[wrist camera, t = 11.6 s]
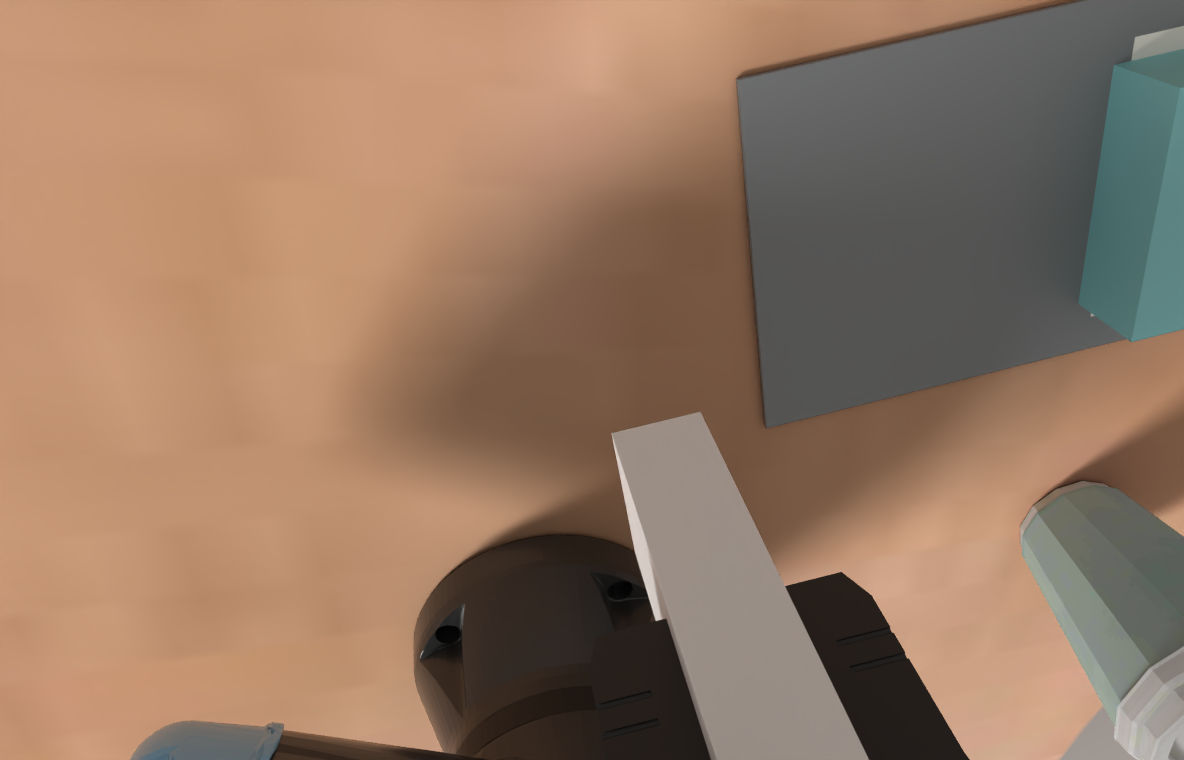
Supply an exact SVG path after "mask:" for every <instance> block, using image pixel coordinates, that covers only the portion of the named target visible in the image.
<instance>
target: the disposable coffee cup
mask: <svg viewBox="0 0 1184 760" xmlns="http://www.w3.org/2000/svg"><path fill="white" fill-rule="evenodd" d="M1020 544H1021V546H1022V555H1023V557H1024V559H1025V561H1026V563H1027V565H1028V567H1029V569H1030V570H1031V572H1032V574H1033V576H1034V578H1035V580H1036V582H1037V583H1038V585H1039V587H1040V589H1041V591H1042V593H1043V595H1044V596H1045V598H1046V600H1047V602H1048V604H1049V606H1050V608H1051V609H1052V611H1053V613H1054V615H1055V617H1056V619H1057V621H1058V622H1059V624H1060V626H1061V628H1062V630H1063V632H1064V634H1065V635H1066V637H1067V639H1068V641H1069V643H1070V645H1071V647H1072V648H1073V650H1074V652H1075V654H1076V656H1077V658H1078V660H1079V661H1080V663H1081V665H1082V667H1083V669H1084V671H1085V673H1086V674H1087V676H1088V678H1089V680H1090V682H1091V684H1092V686H1093V687H1094V689H1095V691H1096V693H1097V695H1098V697H1099V699H1100V701H1101V702H1102V704H1103V706H1104V708H1105V710H1106V711H1107V713H1108V715H1109V717H1110V719H1111V721H1112V723H1113V724H1114V727H1115V734H1114V739H1115V740H1116V741H1118V742H1119V743H1120V744H1121V745H1122V746H1123V747H1124V748H1125V750H1126V751H1127V752H1128V753H1129V754H1130V755H1132V756H1133V757H1134V758H1135V759H1137V760H1184V537H1183V536H1182V535H1181V534H1179V533H1178V532H1176V531H1175V530H1174V529H1172V528H1171V527H1170V526H1168V525H1167V524H1165V523H1164V522H1163V521H1161V520H1160V519H1159V518H1157V517H1156V516H1154V515H1153V514H1152V513H1150V512H1149V511H1148V510H1146V509H1145V508H1143V507H1142V506H1141V505H1139V504H1138V503H1137V502H1135V501H1134V500H1132V499H1131V498H1130V497H1128V496H1127V495H1126V494H1124V493H1123V492H1121V491H1120V490H1119V489H1117V488H1112V487H1109V486H1107V485H1106V484H1104V483H1096V482H1087V481H1080V482H1077V483H1074V484H1071V485H1068V486H1064V487H1061V488H1058V489H1056V490H1054V491H1053V492H1051V493H1050V494H1049V495H1047V496H1046V497H1044V498H1043V499H1042V500H1040V501H1039V502H1038V503H1036V504H1035V505H1033V507H1032V508H1031V510H1030V512H1029V513H1028V515H1027V516H1026V518H1025V519H1024V521H1023V522H1022V524H1021V525H1020Z"/></svg>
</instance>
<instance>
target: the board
mask: <svg viewBox="0 0 1184 760" xmlns="http://www.w3.org/2000/svg"><path fill="white" fill-rule="evenodd" d="M1180 49H1184V0H1077V1H1073V2H1068V3H1064V4H1059V5H1055V6H1051V7H1046V8H1042V9H1038V10H1033V11H1029V12H1024V13H1020V14H1016V15H1011V16H1007V17H1003V18H998V19H994V20H990V21H985V22H981V23H976V24H972V25H968V26H963V27H959V28H955V29H950V30H946V31H941V32H937V33H933V34H928V35H924V36H920V37H915V38H911V39H907V40H902V41H898V42H893V43H889V44H885V45H880V46H876V47H872V48H867V49H863V50H858V51H854V52H850V53H845V54H841V55H837V56H832V57H828V58H823V59H819V60H815V61H810V62H806V63H802V64H797V65H793V66H789V67H784V68H780V69H775V70H771V71H767V72H762V73H758V74H754V75H749V76H745V77H740V78H736V84H737V96H738V108H739V120H740V132H741V144H742V156H743V168H744V180H745V192H746V205H747V217H748V229H749V241H750V253H751V265H752V277H753V289H754V301H755V313H756V325H757V338H758V350H759V362H760V374H761V386H762V398H763V410H764V422H765V426H766V428H770V427H774V426H778V425H782V424H786V423H790V422H794V421H798V420H802V419H806V418H810V417H814V416H818V415H822V414H826V413H830V412H834V411H838V410H842V409H846V408H850V407H854V406H858V405H863V404H867V403H871V402H875V401H879V400H883V399H887V398H891V397H895V396H899V395H903V394H907V393H911V392H915V391H919V390H923V389H927V388H931V387H935V386H939V385H943V384H947V383H951V382H955V381H959V380H963V379H967V378H971V377H975V376H979V375H983V374H987V373H991V372H995V371H999V370H1003V369H1007V368H1011V367H1015V366H1019V365H1023V364H1027V363H1032V362H1036V361H1040V360H1044V359H1048V358H1052V357H1056V356H1060V355H1064V354H1068V353H1072V352H1076V351H1080V350H1084V349H1088V348H1092V347H1096V346H1100V345H1104V344H1108V343H1112V342H1116V341H1120V340H1124V339H1126V338H1125V337H1124V336H1122V335H1121V334H1119V333H1118V332H1117V331H1115V330H1114V329H1113V328H1111V327H1110V326H1108V325H1107V324H1106V323H1104V322H1103V321H1101V320H1100V319H1099V318H1097V317H1096V316H1095V315H1093V314H1092V313H1090V312H1089V311H1088V310H1086V309H1085V308H1084V307H1082V306H1081V305H1079V304H1078V302H1079V295H1080V289H1081V282H1082V275H1083V268H1084V262H1085V255H1086V248H1087V242H1088V235H1089V228H1090V221H1091V215H1092V208H1093V201H1094V195H1095V188H1096V181H1097V174H1098V168H1099V161H1100V154H1101V148H1102V141H1103V134H1104V127H1105V121H1106V114H1107V107H1108V101H1109V94H1110V87H1111V80H1112V74H1113V67H1114V65H1116V64H1120V63H1124V62H1128V61H1133V60H1137V59H1141V58H1146V57H1150V56H1154V55H1158V54H1163V53H1167V52H1171V51H1176V50H1180Z"/></svg>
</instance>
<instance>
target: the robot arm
mask: <svg viewBox="0 0 1184 760" xmlns="http://www.w3.org/2000/svg"><path fill="white" fill-rule="evenodd" d="M612 438H613V443H614V448H615V453H616V459H617V464H618V469H619V474H620V479H621V484H622V489H623V494H624V499H625V504H626V509H627V514H628V519H629V524H630V529H631V534H632V540H633V545H634V550H635V553H634V552H633V551H631V550H629V549H627V548H625V547H623V546H620V545H618V544H615V543H612V542H609V541H605V540H601V539H597V538H592V537H585V536H574V535H553V536H542V537H535V538H529V539H524V540H519V541H516V542H512V543H508V544H505V545H503V546H500V547H497V548H494V549H492V550H489V551H487V552H485V553H483V554H481V555H479V556H477V557H475V558H473V559H472V560H470V561H468V562H467V563H465V564H464V565H462V566H461V567H459V568H458V569H456V570H455V571H454V572H453V573H451V574H450V575H449V576H448V577H447V578H446V579H444V580H443V581H442V582H441V583H440V584H439V586H438V587H437V588H436V589H435V590H434V591H433V593H432V594H431V595H430V596H429V598H428V599H427V601H426V603H425V604H424V606H423V608H422V610H421V612H420V614H419V617H418V620H417V623H416V627H415V632H414V676H415V682H416V686H417V690H418V693H419V696H420V698H421V701H422V703H423V705H424V708H425V710H426V712H427V715H428V717H429V719H430V722H431V724H432V727H433V729H434V731H435V734H436V736H437V738H438V741H439V743H440V745H441V748H442V750H443V752H444V753H443V752H436V751H429V750H422V749H414V748H407V747H400V746H393V745H386V744H379V743H371V742H364V741H357V740H350V739H343V738H336V737H328V736H321V735H314V734H307V733H300V732H293V731H285V730H283V729H284V724H280V723H273V722H272V723H270V724H268V725H266V726H265V727H259V726H248V725H237V724H225V723H214V722H203V721H182V722H177V723H173V724H170V725H168V726H165V727H163V728H161V729H160V730H158V731H156V732H154V733H153V734H152V735H151V736H149V737H148V738H147V739H145V740H144V741H143V743H142V744H141V745H140V746H139V747H138V748H137V749H136V751H135V752H134V754H133V755H132V757H131V759H130V760H970V759H969V758H968V757H967V755H966V754H965V753H964V751H963V750H962V748H961V746H960V745H959V743H958V741H957V740H956V738H955V736H954V734H953V733H952V731H951V729H950V728H949V726H948V724H947V723H946V721H945V719H944V717H943V716H942V714H941V712H940V711H939V709H938V707H937V706H936V704H935V702H934V701H933V699H932V697H931V695H930V694H929V692H928V690H927V689H926V687H925V685H924V684H923V682H922V680H921V679H920V677H919V675H918V673H917V672H916V670H915V668H914V667H913V665H912V663H911V662H910V660H909V659H907V658H906V655H905V651H904V650H903V648H902V646H901V645H900V643H899V641H898V640H897V638H896V636H895V634H894V633H892V632H891V630H890V626H889V624H888V623H887V621H886V619H885V617H884V616H883V614H882V612H881V611H880V609H879V607H878V606H877V604H876V602H875V601H874V599H873V597H872V595H870V594H869V593H868V592H866V591H865V590H864V589H863V588H861V587H860V586H859V585H857V584H856V583H855V582H854V581H852V580H851V579H850V578H848V577H847V576H846V575H845V574H843V573H842V572H839V573H836V574H832V575H828V576H824V577H820V578H816V579H812V580H808V581H804V582H800V583H796V584H792V585H788V586H785V585H784V583H783V581H782V579H781V577H780V575H779V573H778V571H777V569H776V567H775V565H774V563H773V561H772V559H771V556H770V554H769V552H768V550H767V548H766V546H765V544H764V542H763V540H762V538H761V536H760V534H759V532H758V530H757V528H756V525H755V523H754V521H753V519H752V517H751V515H750V513H749V511H748V509H747V507H746V505H745V503H744V501H743V499H742V497H741V494H740V492H739V490H738V488H737V486H736V484H735V482H734V480H733V478H732V476H731V474H730V472H729V470H728V468H727V466H726V464H725V461H724V459H723V457H722V455H721V453H720V451H719V449H718V447H717V445H716V443H715V441H714V439H713V437H712V435H711V433H710V430H709V428H708V426H707V424H706V422H705V420H704V418H703V416H702V414H701V412H697V413H693V414H689V415H685V416H680V417H676V418H672V419H668V420H664V421H660V422H656V423H652V424H647V425H643V426H639V427H635V428H631V429H627V430H623V431H618V432H614V433H612Z"/></svg>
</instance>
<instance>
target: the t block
mask: <svg viewBox="0 0 1184 760" xmlns="http://www.w3.org/2000/svg"><path fill="white" fill-rule="evenodd" d="M1078 304H1079V305H1081V306H1082V307H1084V308H1085V309H1086V310H1088V311H1089V312H1090V313H1092V314H1093V315H1095V316H1096V317H1097V318H1099V319H1100V320H1101V321H1103V322H1104V323H1106V324H1107V325H1108V326H1110V327H1111V328H1113V329H1114V330H1115V331H1117V332H1118V333H1119V334H1121V335H1122V336H1124V337H1125V338H1126V339H1128V340H1129V341H1130V342H1134V341H1138V340H1142V339H1146V338H1150V337H1154V336H1158V335H1162V334H1166V333H1170V332H1174V331H1178V330H1182V329H1184V49H1180V50H1176V51H1171V52H1167V53H1163V54H1158V55H1154V56H1150V57H1146V58H1141V59H1137V60H1133V61H1128V62H1124V63H1120V64H1116V65H1114V67H1113V74H1112V80H1111V87H1110V94H1109V101H1108V107H1107V114H1106V121H1105V127H1104V134H1103V141H1102V148H1101V154H1100V161H1099V168H1098V174H1097V181H1096V188H1095V195H1094V201H1093V208H1092V215H1091V221H1090V228H1089V235H1088V242H1087V248H1086V255H1085V262H1084V268H1083V275H1082V282H1081V289H1080V295H1079V302H1078Z"/></svg>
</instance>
